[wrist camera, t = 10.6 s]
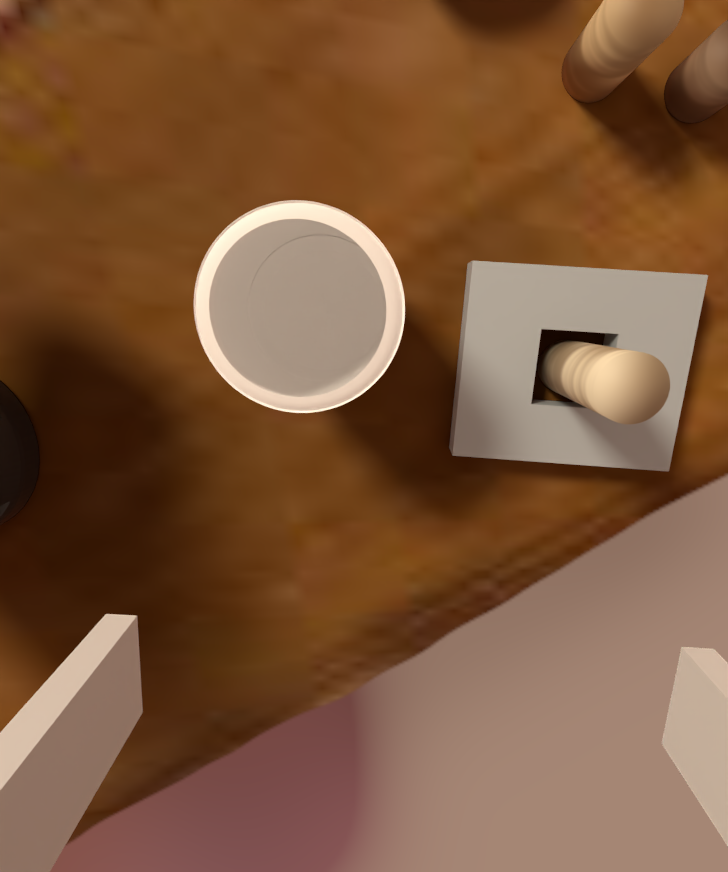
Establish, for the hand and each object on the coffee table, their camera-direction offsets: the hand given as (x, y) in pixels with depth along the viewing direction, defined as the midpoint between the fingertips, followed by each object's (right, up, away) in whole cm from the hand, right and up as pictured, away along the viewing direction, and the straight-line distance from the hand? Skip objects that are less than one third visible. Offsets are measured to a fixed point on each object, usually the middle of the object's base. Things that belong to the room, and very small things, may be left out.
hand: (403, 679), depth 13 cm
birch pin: (+14, +11, +28) cm, 34 cm away
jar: (-3, +16, +28) cm, 32 cm away
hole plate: (+14, +11, +28) cm, 34 cm away
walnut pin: (+21, +29, +24) cm, 43 cm away
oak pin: (+15, +31, +24) cm, 41 cm away
